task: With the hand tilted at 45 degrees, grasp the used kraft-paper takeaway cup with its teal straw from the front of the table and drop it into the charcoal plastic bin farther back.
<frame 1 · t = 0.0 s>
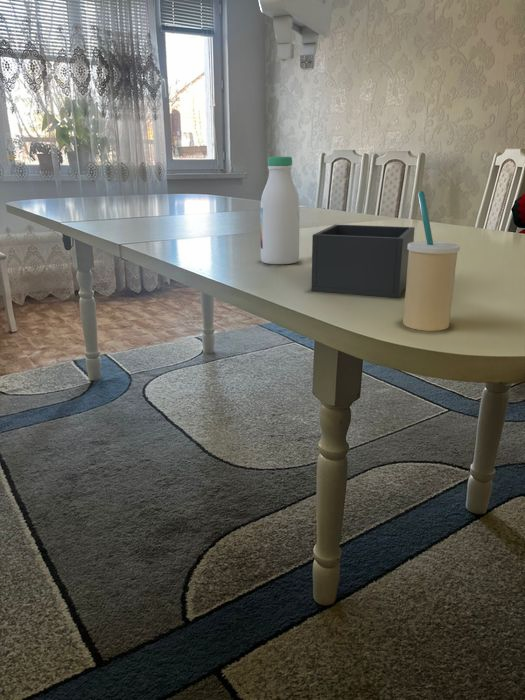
hand: (297, 64, 75), 32 cm above the table, tool pointing down, fingers open, 8 cm apart
takeaway cup: (425, 324, 69), on the table
bin: (362, 284, 89), on the table
milk bottle: (279, 262, 109), on the table
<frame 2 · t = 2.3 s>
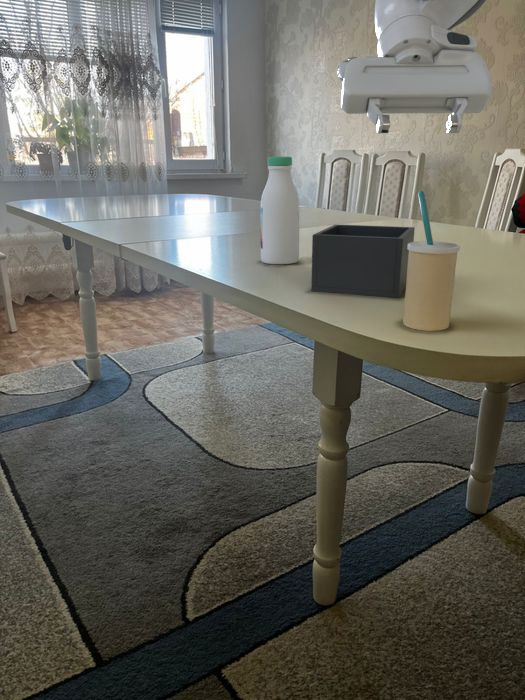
hand: (419, 129, 72), 23 cm above the table, tool tilted 45°, fingers open, 8 cm apart
nothing on the table moved.
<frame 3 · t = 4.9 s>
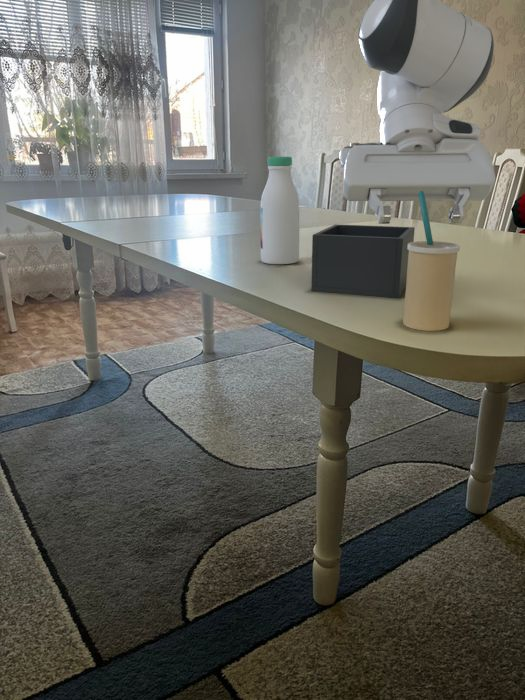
hand: (420, 221, 72), 12 cm above the table, tool tilted 45°, fingers open, 8 cm apart
nothing on the table moved.
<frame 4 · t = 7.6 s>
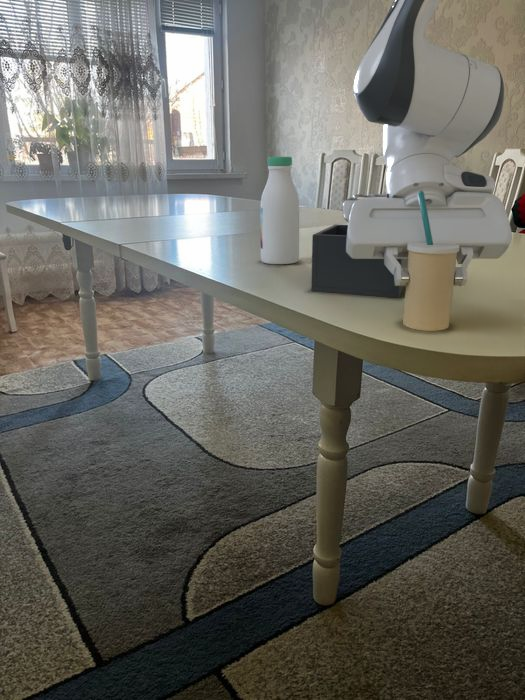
hand: (431, 283, 66), 5 cm above the table, tool tilted 45°, fingers closed on takeaway cup, 5 cm apart
takeaway cup: (425, 324, 69), on the table, touching gripper
everything else where it was.
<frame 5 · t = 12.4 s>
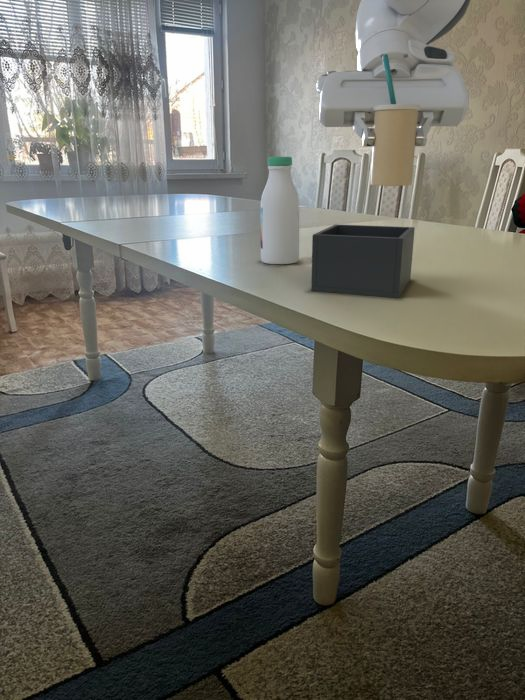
hand: (395, 143, 73), 22 cm above the table, tool tilted 45°, fingers closed on takeaway cup, 5 cm apart
takeaway cup: (390, 184, 75), point 16 cm above the table, touching gripper
everything else where it was.
when the fingers open (9 cm above the table, at t = 17.4 s): takeaway cup drops 3 cm, resting on bin.
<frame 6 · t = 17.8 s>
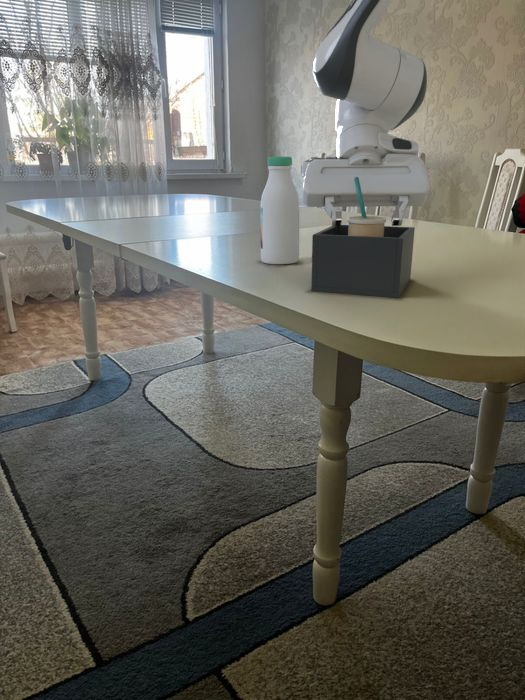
hand: (366, 223, 85), 10 cm above the table, tool tilted 45°, fingers open, 8 cm apart
takeaway cup: (363, 280, 89), point 1 cm above the table, touching bin
everything else where it was.
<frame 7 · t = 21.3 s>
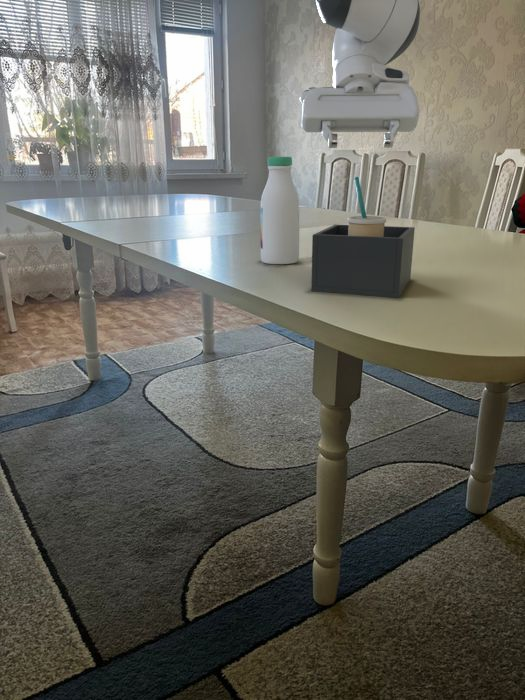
hand: (360, 145, 92), 22 cm above the table, tool tilted 45°, fingers open, 8 cm apart
nothing on the table moved.
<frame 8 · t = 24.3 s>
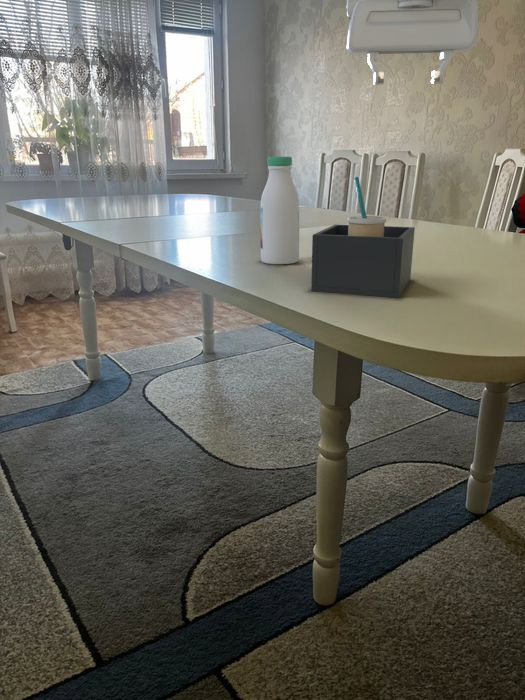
hand: (407, 83, 89), 31 cm above the table, tool pointing down, fingers open, 8 cm apart
nothing on the table moved.
at the end: takeaway cup inside the target area in the bin (0.1 cm from its centre), point 0.8 cm above the bin's base; the gripper is holding nothing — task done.
